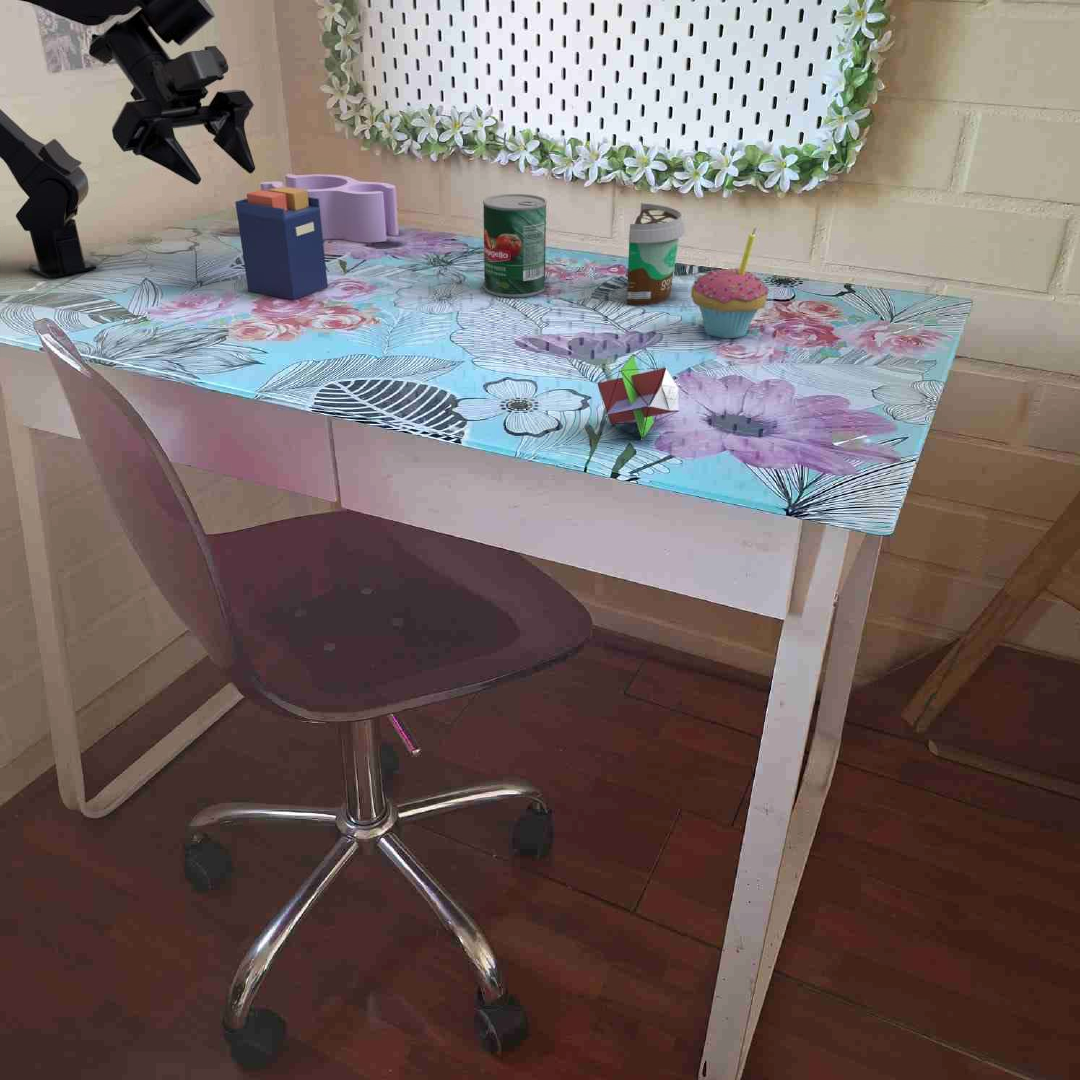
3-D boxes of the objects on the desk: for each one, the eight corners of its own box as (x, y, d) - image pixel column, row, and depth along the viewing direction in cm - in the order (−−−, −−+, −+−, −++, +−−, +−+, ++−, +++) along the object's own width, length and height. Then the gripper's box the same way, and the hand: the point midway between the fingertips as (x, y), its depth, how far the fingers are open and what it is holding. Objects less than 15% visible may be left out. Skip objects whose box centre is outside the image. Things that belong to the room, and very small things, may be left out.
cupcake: (767, 324, 116) (781, 220, 110) (756, 348, 109) (770, 238, 103) (695, 316, 118) (705, 214, 112) (680, 339, 112) (689, 231, 105)
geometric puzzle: (569, 412, 88) (625, 352, 84) (593, 385, 94) (647, 327, 89) (628, 466, 89) (686, 409, 84) (648, 436, 95) (704, 381, 90)
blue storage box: (247, 291, 125) (235, 201, 119) (283, 278, 130) (272, 191, 124) (294, 300, 122) (284, 209, 116) (329, 287, 127) (320, 198, 121)
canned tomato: (474, 293, 125) (472, 204, 120) (498, 276, 132) (497, 191, 126) (533, 300, 123) (533, 210, 117) (554, 283, 129) (555, 196, 124)
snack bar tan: (270, 206, 122) (268, 189, 121) (284, 202, 124) (282, 186, 123) (295, 210, 120) (293, 193, 119) (309, 206, 122) (307, 189, 121)
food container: (675, 312, 120) (682, 228, 115) (624, 308, 121) (629, 224, 116) (683, 283, 130) (689, 204, 125) (636, 279, 131) (641, 202, 126)
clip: (411, 228, 153) (408, 182, 150) (371, 247, 143) (367, 198, 140) (301, 216, 159) (296, 171, 156) (255, 233, 150) (248, 186, 146)
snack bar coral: (248, 210, 120) (246, 193, 119) (262, 206, 122) (260, 189, 121) (273, 214, 118) (271, 197, 117) (287, 210, 120) (285, 193, 119)
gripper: (112, 23, 109) (198, 143, 110) (234, 18, 123) (309, 125, 124) (76, 92, 116) (157, 204, 117) (196, 80, 130) (267, 180, 131)
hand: (226, 176), depth 122 cm, fingers open, 9 cm apart
